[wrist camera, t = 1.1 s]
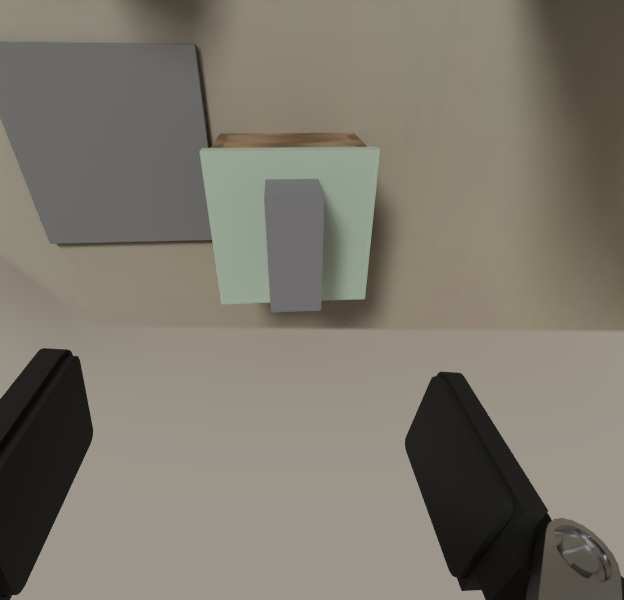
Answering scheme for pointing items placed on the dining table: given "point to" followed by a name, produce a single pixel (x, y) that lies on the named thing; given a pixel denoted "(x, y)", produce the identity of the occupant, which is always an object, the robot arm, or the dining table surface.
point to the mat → (108, 138)
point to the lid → (291, 223)
